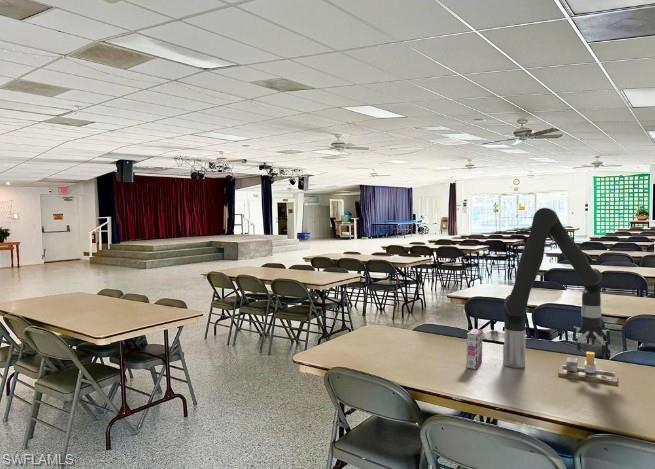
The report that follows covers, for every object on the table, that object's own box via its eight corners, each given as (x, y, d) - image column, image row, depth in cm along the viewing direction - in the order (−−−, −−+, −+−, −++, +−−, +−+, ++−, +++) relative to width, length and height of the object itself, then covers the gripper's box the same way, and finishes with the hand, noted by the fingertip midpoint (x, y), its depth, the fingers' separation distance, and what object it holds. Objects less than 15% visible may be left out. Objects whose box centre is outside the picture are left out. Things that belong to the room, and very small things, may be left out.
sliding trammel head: (584, 373, 202) (584, 354, 202) (585, 369, 208) (585, 350, 207) (595, 375, 200) (595, 355, 200) (595, 371, 206) (596, 351, 205)
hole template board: (558, 376, 206) (558, 361, 205) (560, 369, 214) (560, 355, 214) (617, 385, 195) (617, 369, 194) (616, 377, 203) (617, 363, 203)
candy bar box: (477, 370, 214) (477, 334, 213) (466, 368, 217) (466, 333, 216) (482, 363, 224) (483, 329, 223) (472, 361, 226) (472, 328, 226)
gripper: (610, 314, 202) (610, 352, 203) (573, 311, 210) (573, 347, 210) (610, 318, 196) (610, 356, 197) (572, 315, 203) (572, 352, 204)
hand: (591, 352), depth 204 cm, fingers open, 8 cm apart
